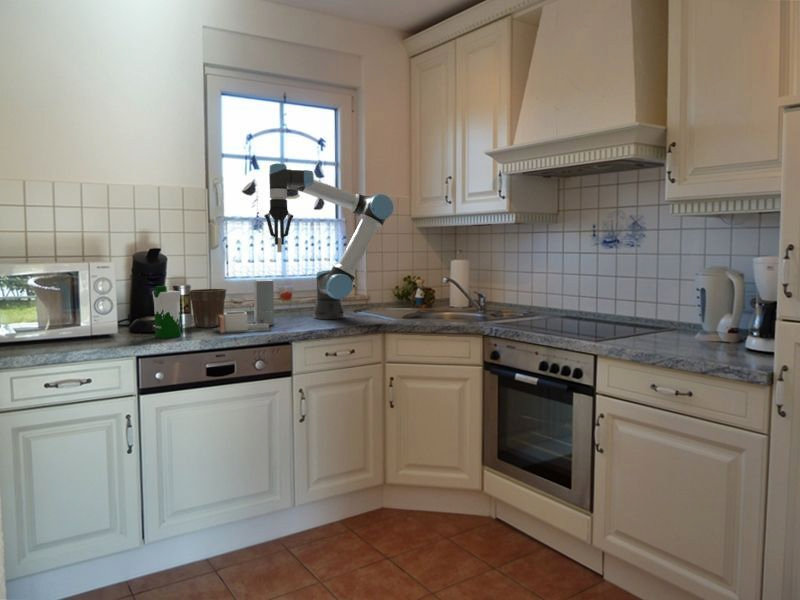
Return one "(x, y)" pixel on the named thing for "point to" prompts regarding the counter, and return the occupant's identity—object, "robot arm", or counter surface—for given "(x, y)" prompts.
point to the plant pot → (207, 306)
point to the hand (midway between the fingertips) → (279, 252)
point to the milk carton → (166, 313)
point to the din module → (235, 320)
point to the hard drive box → (263, 301)
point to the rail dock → (251, 328)
